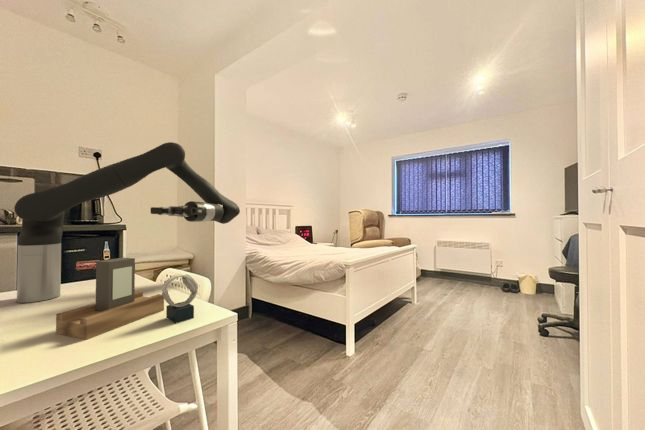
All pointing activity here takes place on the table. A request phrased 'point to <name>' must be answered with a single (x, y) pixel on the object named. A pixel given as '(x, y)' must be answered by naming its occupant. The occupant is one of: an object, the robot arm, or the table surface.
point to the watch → (182, 309)
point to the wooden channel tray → (106, 317)
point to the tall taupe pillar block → (114, 283)
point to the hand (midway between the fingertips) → (161, 210)
